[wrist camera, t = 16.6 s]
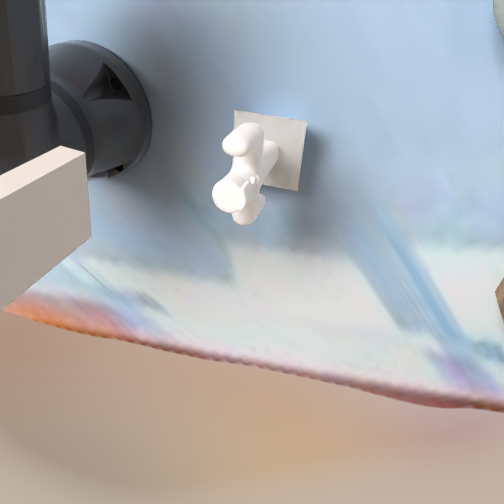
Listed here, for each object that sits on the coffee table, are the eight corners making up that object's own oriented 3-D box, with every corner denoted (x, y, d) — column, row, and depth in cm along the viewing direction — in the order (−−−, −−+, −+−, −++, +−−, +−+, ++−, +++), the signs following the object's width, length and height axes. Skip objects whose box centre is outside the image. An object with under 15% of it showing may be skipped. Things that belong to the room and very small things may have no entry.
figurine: (241, 175, 50) (187, 239, 38) (246, 90, 44) (185, 133, 32) (303, 186, 48) (267, 258, 36) (315, 100, 43) (279, 149, 31)
